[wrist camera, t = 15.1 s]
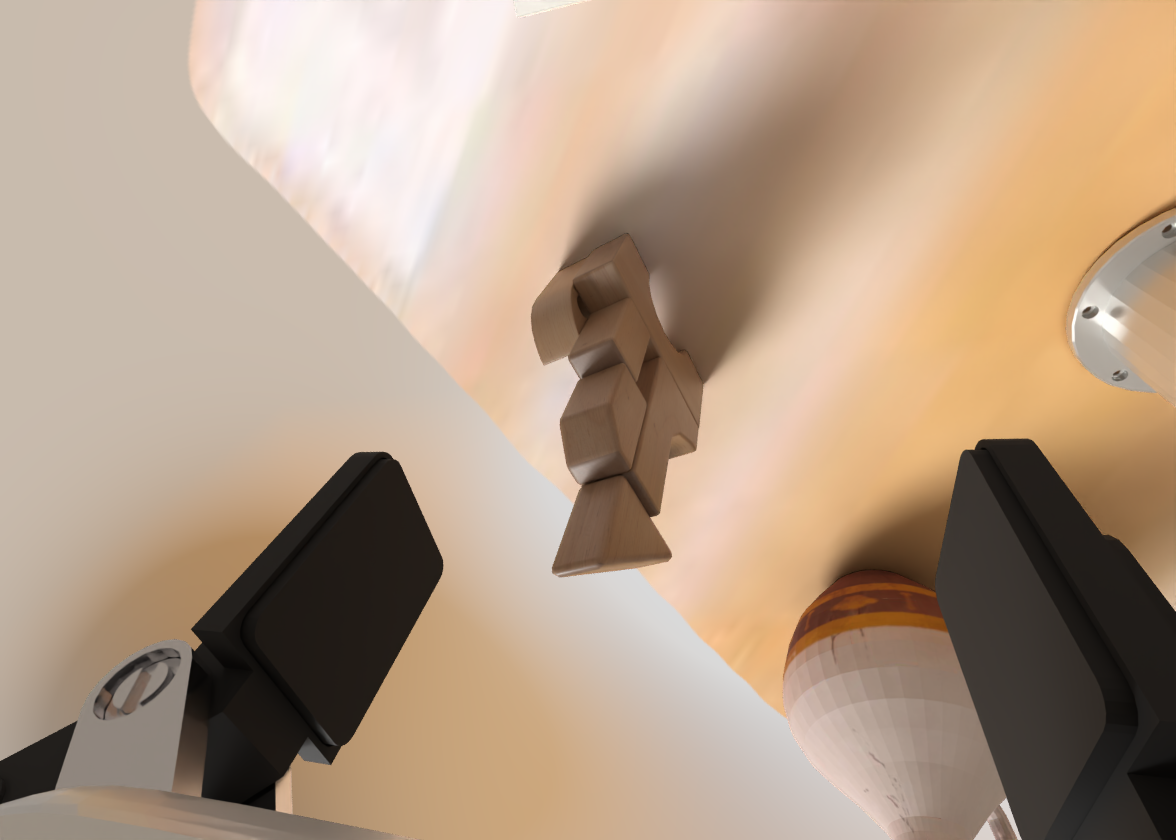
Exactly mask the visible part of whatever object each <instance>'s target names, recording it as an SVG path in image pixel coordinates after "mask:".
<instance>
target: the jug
mask: <svg viewBox="0 0 1176 840" xmlns="http://www.w3.org/2000/svg"><path fill="white" fill-rule="evenodd" d="M783 702H784V708H785V712H786V716H787V719H788V723H789V726H790V730H791V732H792V735H793V737H794V739H795V740H796V742H797V743H798V745H799V746H800V748H801V749H802V751H803V752H804V754H805V755H806V757H807V758H808V760H809V761H810V762H811V764H812V765H813V767H815V769H816V770H818V771H819V772H820V773H821V774H822V775H823V776H824V777H825V778H826V779H827V780H828V781H830V782H831V783H832V784H833V785H834V786H835V787H836V788H837V789H838V790H840V791H841V792H842V793H843V794H845V795H846V796H847V797H848V798H850V799H851V800H852V801H853V802H855V803H856V804H857V805H858V806H859V807H860V808H861V809H862V810H863V811H864V812H865V813H866V814H867V815H868V816H869V817H871V818H872V819H873V820H874V821H875V822H876V823H877V824H878V825H879V826H880V827H881V828H882V829H883V830H884V831H885V832H886V833H887V834H888V835H889V837H890V839H891V840H973V839H974V838H975V836H976V835H977V833H978V832H979V830H980V829H981V828H982V826H983V825H984V823H985V822H986V821H988V823H989V825H990V827H991V830H992V832H993V834H994V836H995V839H996V840H1017V837H1016V835H1015V833H1014V831H1013V829H1012V827H1011V825H1010V823H1009V820H1008V818H1007V816H1006V815H1005V813H1004V811H1003V810H1002V808H1001V807H1000V804H1001V803H1002V801H1004V800H1005V798H1006V794H1005V791H1004V789H1003V786H1002V783H1001V780H1000V777H999V774H998V772H997V769H996V766H995V763H994V760H993V757H992V755H991V752H990V749H989V746H988V743H987V740H986V738H985V735H984V732H983V729H982V726H981V723H980V721H979V718H978V715H977V712H976V709H975V706H974V704H973V701H972V698H971V695H970V692H969V689H968V687H967V684H966V681H965V678H964V675H963V672H962V670H961V667H960V664H959V661H958V658H957V655H956V653H955V650H954V647H953V644H952V641H951V638H950V636H949V633H948V630H947V627H946V624H945V621H944V619H943V616H942V613H941V610H940V607H939V604H938V601H937V597H936V592H935V591H933V590H931V589H929V588H927V587H926V586H923V585H921V584H919V583H917V582H915V581H912V580H910V579H908V578H905V577H903V576H901V575H898V574H896V573H892V572H888V571H883V570H864V571H858V572H854V573H851V574H848V575H846V576H844V577H842V578H840V579H839V580H837V581H836V582H835V583H834V584H832V585H831V586H830V587H829V588H828V589H826V590H825V591H824V592H823V593H822V594H821V595H820V596H819V597H818V598H817V599H816V600H815V601H814V602H813V603H812V604H811V605H810V606H809V607H808V608H807V609H806V610H805V612H804V613H803V614H802V616H801V618H800V620H799V622H798V625H797V627H796V630H795V632H794V634H793V637H792V639H791V642H790V644H789V649H788V654H787V659H786V663H785V669H784V675H783Z"/></svg>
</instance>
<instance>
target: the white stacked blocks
mask: <svg viewBox="0 0 1176 840" xmlns="http://www.w3.org/2000/svg"><path fill="white" fill-rule="evenodd" d="M513 1H514V6H515V11H516V16H517V17H519V18H523V17H527V16H531V15H535V14H539V13H543V12H547V11H551V10H555V9H558V8H562V7H566V6H570V5H574V4H578V3H582V2H586V1H590V0H513Z"/></svg>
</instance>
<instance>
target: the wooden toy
mask: <svg viewBox="0 0 1176 840" xmlns="http://www.w3.org/2000/svg"><path fill="white" fill-rule="evenodd" d="M531 325H532V332H533V336H534V341H535V344H536V347H537V350H538V354H539V356H540V359H541V361H542V363H543V365H546V364H549V363H551V362H554V361H556V360H559V359H561V358H564V357H566V356H568V359H569V362H570V363H571V365H572V367H573V368H574V370H575V372H576V373H577V375H578V377H579V378H580V380H579V381H578V382H577V384H576V387H575V389H574V391H573V393H572V395H571V397H570V400H569V402H568V404H567V406H566V408H565V410H564V413H563V415H562V417H561V419H560V429H561V435H562V441H563V447H564V453H565V459H566V464H567V467H568V469H569V471H570V472H571V474H572V476H573V477H574V479H575V480H576V482H577V483H578V484H580V485H582V486H581V487H582V488H581V489H580V490H579V492H578V495H577V498H576V501H575V504H574V507H573V509H572V512H571V515H570V518H569V521H568V524H567V527H566V530H565V532H564V535H563V538H562V541H561V544H560V546H559V549H558V552H557V555H556V558H555V561H554V564H553V567H552V573H553V574H555V575H556V576H558V577H568V576H576V575H583V574H592V573H601V572H609V571H617V570H625V569H633V568H639V567H644V566H649V565H654V564H659V563H663V562H668V561H669V560H670V559H671V557H672V554H671V551H670V549H669V547H668V546H667V544H666V543H665V541H664V539H663V538H662V536H661V534H660V533H659V531H658V530H657V528H656V526H655V525H654V523H653V521H652V520H651V518H650V517H653V516H657V515H658V514H659V513H660V509H661V503H662V496H663V490H664V484H665V478H666V472H667V466H668V459H671V458H674V457H678V456H681V455H685V454H688V453H691V452H694V451H696V448H697V438H698V428H699V424H700V414H701V404H702V394H703V383H702V381H701V379H700V377H699V375H698V373H697V371H696V369H695V367H694V365H693V363H692V361H691V358H690V356H689V354H688V352H687V351H686V350H683V351H680V352H677V351H676V349H675V348H674V347H673V346H672V345H671V343H670V341H669V339H668V338H667V336H666V334H665V333H664V330H663V328H662V326H661V323H660V321H659V319H658V317H657V314H656V311H655V308H654V305H653V301H652V298H651V293H650V287H649V273H648V271H647V269H646V267H645V265H644V263H643V261H642V259H641V257H640V255H639V253H638V251H637V249H636V247H635V245H634V243H633V241H632V239H631V237H630V235H629V234H624V235H622V236H620V237H618V238H616V239H614V240H612V241H610V242H608V243H606V244H604V245H602V246H600V247H598V248H596V249H594V250H593V251H592V252H591V253H590V255H589V256H588V257H587V258H585V259H583V260H581V261H579V262H577V263H575V264H573V265H571V266H569V267H567V268H565V269H563V270H561V271H559V272H558V273H557V274H556V275H555V276H554V278H553V279H552V280H551V281H550V282H549V284H548V285H547V286H546V288H545V289H544V290H543V291H542V293H541V294H540V295H539V296H538V298H537V299H536V301H535V303H534V305H533V307H532V313H531Z"/></svg>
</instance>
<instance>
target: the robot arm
mask: <svg viewBox="0 0 1176 840" xmlns="http://www.w3.org/2000/svg"><path fill="white" fill-rule="evenodd" d="M1165 227H1166V228H1165ZM1164 228H1165V229H1164ZM1066 334H1067V340H1068V344H1069V346H1070V348H1071V350H1072V352H1073V354H1074V356H1075V358H1076V359H1077V360H1078V361H1079V362H1080V363H1081V364H1082V365H1083V366H1084V368H1085V369H1087V370H1088V371H1089V372H1090V373H1091V374H1093V375H1094V376H1095V377H1096V378H1098V379H1099V380H1101V381H1103V382H1105V383H1107V384H1109V385H1112V386H1115V387H1118V388H1122V389H1126V390H1130V391H1137V392H1147V393H1158V394H1159V395H1161V396H1162V397H1163V398H1164V399H1165V400H1167V401H1168V402H1169V403H1170V404H1171V405H1172V406H1174V407H1175V408H1176V208H1174V209H1171V210H1169V211H1166V212H1164V213H1162V214H1160V215H1158V216H1157V217H1155V218H1153V219H1151V220H1149V221H1147V222H1145V223H1144V224H1142V225H1140V226H1138V227H1137V228H1136V229H1134V230H1133V231H1131V232H1130V233H1128V234H1127V235H1126V236H1124V237H1123V238H1121V239H1120V240H1119V241H1117V242H1116V243H1115V244H1114V245H1113V246H1112V247H1111V248H1109V249H1108V250H1107V251H1106V252H1105V253H1104V254H1103V255H1102V256H1101V257H1100V258H1099V259H1098V260H1097V261H1096V262H1095V263H1094V265H1093V266H1092V267H1091V268H1090V270H1089V271H1088V272H1087V273H1086V274H1085V276H1084V277H1083V279H1082V280H1081V282H1080V284H1079V286H1078V287H1077V289H1076V291H1075V293H1074V294H1073V297H1072V300H1071V303H1070V306H1069V309H1068V312H1067V320H1066ZM442 572H443V559H442V556H441V554H440V552H439V550H438V547H437V545H436V543H435V541H434V539H433V536H432V534H431V532H430V530H429V527H428V525H427V523H426V521H425V519H424V516H423V514H422V512H421V510H420V508H419V505H418V503H417V501H416V498H415V496H414V494H413V492H412V490H411V487H410V485H409V483H408V481H407V479H406V476H405V474H404V472H403V470H402V467H401V465H400V464H399V462H398V461H396V460H394V459H393V458H392V456H391V455H390V454H388V453H386V452H359V453H355V454H354V455H352V456H351V457H350V458H349V459H348V460H347V461H346V462H345V463H344V464H343V466H342V467H341V468H340V469H339V470H338V471H337V472H336V473H335V474H334V475H333V476H332V478H331V479H330V480H329V481H328V482H327V483H326V484H325V485H324V486H323V487H322V488H321V489H320V490H319V492H318V493H317V494H316V495H315V496H314V497H313V498H312V499H311V500H310V501H309V502H308V503H307V504H306V506H305V507H304V508H303V509H302V510H301V511H300V512H299V513H298V514H297V515H296V516H295V517H294V518H293V520H292V521H291V522H290V523H289V524H288V525H287V526H286V527H285V528H284V529H283V530H282V531H281V533H280V534H279V535H278V536H277V537H276V538H275V539H274V540H273V541H272V542H271V543H270V544H269V545H268V547H267V548H266V549H265V550H264V551H263V552H262V553H261V554H260V555H259V556H258V557H257V558H256V560H255V561H254V562H253V563H252V564H251V565H250V566H249V567H248V568H247V569H246V570H245V572H243V574H242V575H241V576H240V577H239V578H238V579H237V580H236V581H235V582H234V583H233V584H232V585H231V587H230V588H229V589H228V590H227V591H226V592H225V593H224V594H223V595H222V596H221V597H220V598H219V600H218V601H217V602H216V603H215V604H214V605H213V606H212V607H211V608H210V609H209V610H208V611H207V613H206V614H205V615H204V616H203V617H202V618H201V619H200V620H199V621H198V622H197V623H196V624H195V626H194V627H193V628H192V629H191V630H192V631H193V632H194V633H195V635H196V636H197V637H198V638H199V639H200V640H201V641H202V644H201V645H200V646H199V647H198V648H197V649H196V650H195V651H194V650H193V649H192V648H191V647H190V646H189V645H188V644H187V642H185V641H181V640H177V639H174V640H166V641H161V642H158V643H156V644H152V645H150V646H147V647H146V648H144V649H142V650H140V651H138V652H136V653H134V654H132V655H131V656H129V657H128V658H126V659H125V660H123V661H122V662H121V663H119V664H118V665H117V666H115V667H114V668H113V669H112V670H111V671H110V672H109V673H108V674H106V675H105V676H104V677H103V678H102V679H101V680H100V681H99V682H98V684H97V685H96V686H95V687H94V689H93V690H92V691H91V692H90V694H89V695H88V697H87V699H86V701H85V703H84V705H83V707H82V709H81V712H80V715H79V718H78V721H76V722H74V723H72V724H70V725H68V726H67V727H64V728H63V729H61V730H59V731H57V732H55V733H53V734H51V735H49V736H47V737H45V738H44V739H42V740H40V741H38V742H36V743H34V744H32V745H30V746H28V747H26V748H24V749H23V750H21V751H19V752H17V753H15V754H13V755H11V756H9V757H7V758H5V759H3V760H1V761H0V840H419V839H414V838H409V837H404V836H399V835H394V834H389V833H384V832H379V831H374V830H369V829H364V828H359V827H354V826H349V825H344V824H339V823H334V822H329V821H323V820H318V819H313V818H308V817H303V816H298V815H293V812H292V780H291V763H292V762H293V760H294V758H295V757H296V755H297V754H299V755H300V756H301V757H302V758H303V760H304V761H310V762H316V763H322V764H328V765H331V764H332V762H333V760H334V759H335V757H336V755H337V753H338V751H339V750H340V748H341V746H343V745H345V744H347V743H348V742H349V741H350V740H351V738H352V737H353V735H354V733H355V732H356V730H357V728H358V726H359V724H360V723H361V721H362V719H363V717H364V715H365V713H366V712H367V710H368V708H369V706H370V704H371V703H372V701H373V699H374V697H375V695H376V694H377V692H378V690H379V688H380V686H381V684H382V683H383V681H384V679H385V677H386V676H387V674H388V672H389V670H390V668H391V666H392V665H393V663H394V661H395V659H396V657H397V656H398V654H399V652H400V650H401V648H402V646H403V645H404V643H405V641H406V639H407V637H408V636H409V634H410V632H411V630H412V628H413V627H414V625H415V623H416V621H417V619H418V618H419V615H420V614H421V612H422V610H423V608H424V607H425V605H426V603H427V601H428V599H429V598H430V596H431V594H432V592H433V590H434V589H435V587H436V585H437V583H438V581H439V579H440V577H441V575H442ZM935 590H936V597H937V601H938V604H939V607H940V610H941V613H942V616H943V619H944V621H945V624H946V627H947V630H948V633H949V636H950V638H951V641H952V644H953V647H954V650H955V653H956V655H957V658H958V661H959V664H960V667H961V670H962V672H963V675H964V678H965V681H966V684H967V687H968V689H969V692H970V695H971V698H972V701H973V704H974V706H975V709H976V712H977V715H978V718H979V721H980V723H981V726H982V729H983V732H984V735H985V738H986V740H987V743H988V746H989V749H990V752H991V755H992V757H993V760H994V763H995V766H996V769H997V772H998V774H999V777H1000V780H1001V783H1002V786H1003V789H1004V791H1005V794H1006V797H1007V800H1008V803H1009V806H1010V808H1011V811H1012V814H1013V817H1014V820H1015V823H1016V825H1017V828H1018V831H1019V834H1020V836H1021V838H1022V840H1176V612H1175V610H1174V609H1173V608H1172V606H1171V605H1170V604H1169V602H1168V601H1167V600H1166V598H1165V597H1164V596H1163V594H1162V593H1161V592H1160V590H1159V589H1158V588H1157V587H1156V585H1155V584H1154V583H1153V581H1152V580H1151V579H1150V577H1149V576H1148V575H1147V573H1146V572H1145V571H1144V569H1143V568H1142V567H1141V566H1140V564H1139V563H1138V562H1137V560H1136V559H1135V558H1134V556H1133V555H1132V554H1131V552H1130V551H1129V550H1128V549H1127V548H1126V547H1125V546H1124V545H1123V544H1122V543H1121V542H1120V541H1119V540H1118V539H1116V538H1114V537H1112V536H1110V535H1102V534H1101V532H1100V531H1099V530H1098V528H1097V527H1096V526H1095V524H1094V523H1093V521H1092V520H1091V519H1090V517H1089V516H1088V515H1087V513H1086V512H1085V511H1084V509H1083V508H1082V506H1081V505H1080V504H1079V502H1078V501H1077V500H1076V498H1075V497H1074V495H1073V494H1072V493H1071V491H1070V490H1069V489H1068V487H1067V486H1066V485H1065V483H1064V482H1063V480H1062V479H1061V478H1060V476H1059V475H1058V474H1057V472H1056V471H1055V470H1054V468H1053V467H1052V465H1051V464H1050V463H1049V461H1048V460H1047V459H1046V457H1045V456H1044V454H1043V453H1042V452H1041V450H1040V449H1039V448H1038V446H1037V445H1036V444H1035V443H1034V442H1033V441H1032V440H1030V439H983V440H980V441H979V442H978V443H977V445H976V447H975V450H965V451H963V453H962V454H961V457H960V461H959V466H958V471H957V476H956V481H955V486H954V490H953V495H952V500H951V505H950V510H949V515H948V520H947V524H946V529H945V534H944V539H943V544H942V549H941V554H940V558H939V563H938V568H937V573H936V579H935Z"/></svg>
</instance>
